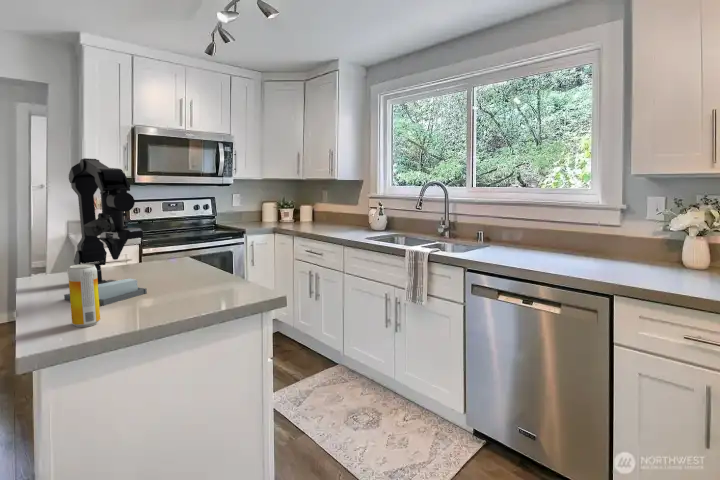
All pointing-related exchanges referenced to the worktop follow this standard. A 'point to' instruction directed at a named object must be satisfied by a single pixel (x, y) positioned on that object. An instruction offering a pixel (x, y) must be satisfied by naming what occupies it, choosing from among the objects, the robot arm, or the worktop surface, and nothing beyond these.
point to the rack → (116, 298)
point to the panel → (117, 288)
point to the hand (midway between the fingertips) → (115, 259)
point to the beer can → (84, 295)
